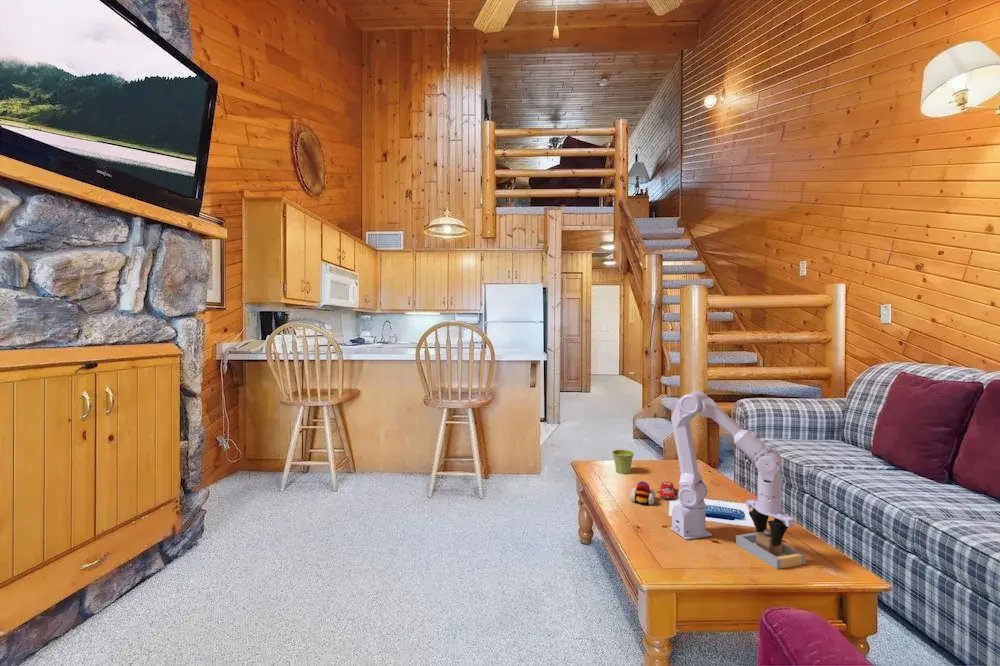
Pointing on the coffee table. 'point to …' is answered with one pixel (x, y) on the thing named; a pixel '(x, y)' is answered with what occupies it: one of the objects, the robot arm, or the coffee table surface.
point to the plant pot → (623, 460)
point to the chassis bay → (778, 561)
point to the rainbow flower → (642, 493)
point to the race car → (667, 490)
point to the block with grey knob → (767, 542)
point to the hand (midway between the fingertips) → (769, 541)
